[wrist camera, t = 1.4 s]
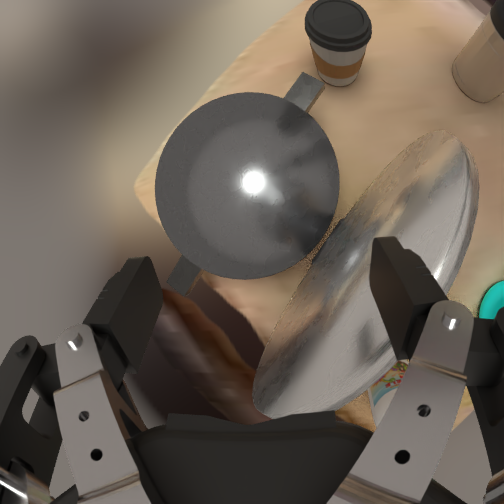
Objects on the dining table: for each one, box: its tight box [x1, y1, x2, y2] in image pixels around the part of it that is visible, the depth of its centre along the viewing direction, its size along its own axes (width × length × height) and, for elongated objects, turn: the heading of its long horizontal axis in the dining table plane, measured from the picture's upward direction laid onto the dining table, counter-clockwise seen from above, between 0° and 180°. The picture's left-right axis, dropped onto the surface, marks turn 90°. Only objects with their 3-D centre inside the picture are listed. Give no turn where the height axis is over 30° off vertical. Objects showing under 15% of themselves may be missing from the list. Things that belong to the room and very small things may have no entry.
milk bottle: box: [367, 359, 409, 427], centre depth 34 cm, size 8×8×20 cm
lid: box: [252, 130, 479, 419], centre depth 21 cm, size 23×24×3 cm
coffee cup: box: [305, 0, 372, 86], centre depth 34 cm, size 8×8×15 cm
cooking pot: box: [155, 72, 339, 296], centre depth 40 cm, size 31×22×12 cm
